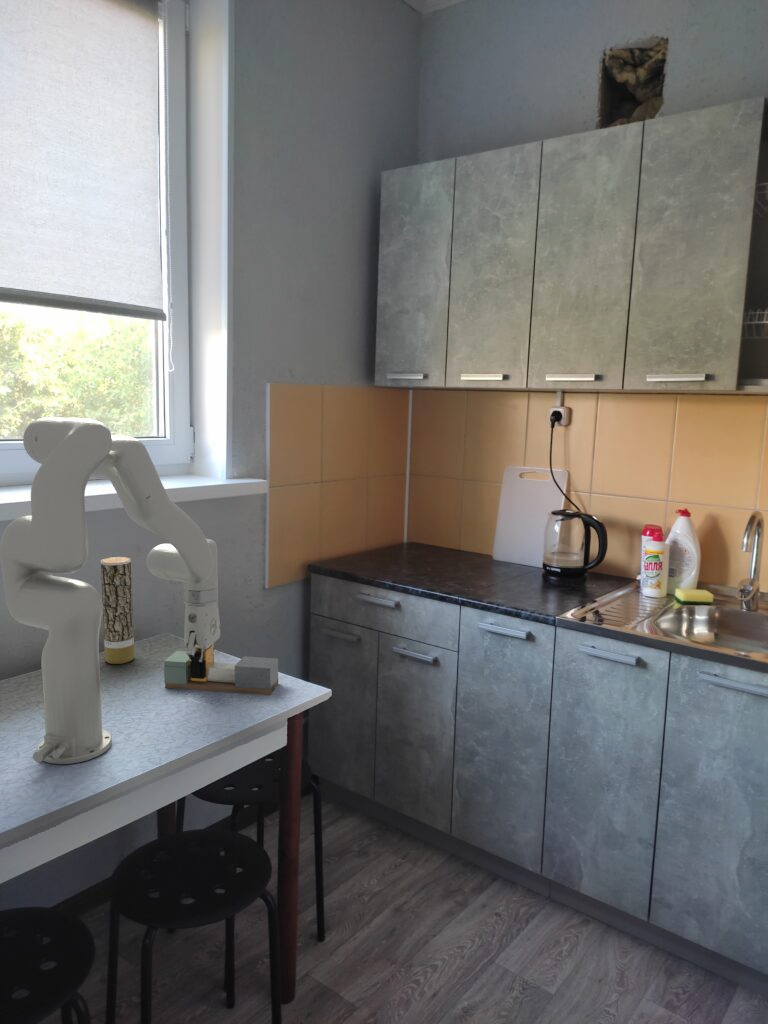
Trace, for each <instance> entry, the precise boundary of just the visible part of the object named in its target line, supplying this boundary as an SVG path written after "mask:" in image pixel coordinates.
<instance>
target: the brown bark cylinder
mask: <svg viewBox="0 0 768 1024" xmlns="http://www.w3.org/2000/svg"><path fill="white" fill-rule="evenodd" d="M100 575H101V577H100V579H101V598H102V602H103V612H102V620H103V624H102V625H103V626H102V627H103V646H104V647H103V648H104V659H105V660H104V661H105V662H106V663H108V664H112V665H121V664H126V663H130V662H131V661H133V660H134V658H135V634H134V609H133V608H134V607H133V606H134V605H133V603H134V602H133V581H132V580H133V579H132V578H133V577H132V576H133V575H132V559H131V558H130V557H124V556H116V557H107V558H103V559H101V560H100Z"/></svg>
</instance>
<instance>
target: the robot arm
mask: <svg viewBox="0 0 768 1024" xmlns="http://www.w3.org/2000/svg"><path fill="white" fill-rule="evenodd" d="M22 437H23V438H22V440H23V448H24V450H25V452H26V454H27V455H28V456H29V457H30V458H31V459H32V460H34V462H36V463H38V464H41V465H40V466H39V468H38V470H36V474H35V476H34V477H33V480H32V483H31V488H30V509H31V511H30V512H31V515H23V516H20V517H17V518H15V519H14V520H13V521H11V522H10V523H9V524H8V525H7V526H6V527H5V529H4V531H3V533H2V535H1V539H0V565H1V573H2V580H3V581H2V582H3V590H4V595H5V596H4V597H5V603H6V607H7V609H8V612H9V614H10V616H11V617H12V618H13V619H14V620H15V621H16V622H17V623H18V622H19V623H20V624H21V625H22V624H23V625H25V626H30V627H34V628H38V629H42V630H46V631H47V632H48V636H47V639H46V642H45V644H44V647H43V649H42V653H41V659H40V661H41V663H40V664H41V673H42V675H41V677H42V694H43V695H42V696H43V709H44V712H43V713H44V727H45V728H44V729H45V734H44V735H43V740H41V741H40V742H39V743H38V744H37V747H36V751H34V752H33V754H32V759H33V760H34V761H35V762H36V763H42V762H45V763H48V764H55V765H70V764H78V763H83V762H85V761H89V760H91V759H94V758H97V757H99V756H101V755H103V754H104V753H106V752H107V751H108V749H110V747H111V746H112V742H113V739H112V734H111V733H110V732H108V731H107V730H105V729H103V716H102V714H103V713H102V695H101V694H102V693H101V691H102V688H101V672H100V671H101V670H100V650H99V649H100V647H99V646H100V645H99V644H100V642H99V641H100V640H99V639H100V630H101V623H102V619H103V602H102V594H100V592H99V591H98V590H97V588H95V587H94V586H93V585H91V584H90V583H88V582H86V581H83V580H79V579H74V578H70V577H64V576H63V577H62V576H56V575H55V576H54V575H53V573H54V574H67V575H68V574H72V573H76V572H78V571H80V570H82V568H83V567H84V566H85V565H86V564H87V561H88V558H89V538H88V527H87V526H88V524H87V517H86V516H87V515H86V508H85V506H86V505H85V503H86V502H85V501H86V500H85V494H86V493H85V492H86V488H87V485H88V482H89V479H90V478H95V479H106V480H109V481H110V483H111V485H112V487H113V488H114V490H115V491H116V494H117V496H118V498H119V500H120V502H121V504H122V506H123V508H124V510H125V512H126V514H127V516H128V518H129V519H130V520H131V521H133V522H134V523H136V524H137V525H138V526H141V528H144V529H145V530H148V531H150V532H152V533H154V534H155V535H158V536H159V537H161V538H162V539H164V540H165V541H166V542H165V543H160V544H158V545H156V546H154V547H153V548H152V549H150V551H149V552H148V554H147V556H146V561H145V563H146V567H147V570H148V572H149V573H150V574H152V575H153V576H154V577H156V578H159V579H163V580H170V581H178V582H182V602H183V604H184V605H185V607H184V608H185V610H184V624H183V626H184V629H183V632H184V633H183V634H184V637H183V638H184V647H185V648H186V654H187V655H188V656H189V661H190V676H191V678H196V679H204V678H205V661H203V655H204V650H206V649H207V648H209V647H210V646H211V645H213V662H215V661H214V656H215V655H214V651H215V646H214V644H215V642H217V641H218V640H219V639H220V637H221V623H220V622H221V620H220V610H219V609H220V608H219V586H218V585H219V578H218V575H219V572H218V571H219V569H218V568H219V567H218V565H219V564H218V545H217V542H216V541H215V540H214V539H210V538H206V536H205V534H204V531H202V529H201V527H199V525H198V524H197V522H195V520H194V519H192V518H191V517H190V516H189V515H188V514H187V513H186V512H185V511H184V510H183V509H182V508H180V507H179V506H178V505H177V504H176V503H175V502H173V501H172V499H170V497H169V495H168V493H167V490H166V489H165V486H164V484H163V482H162V480H161V479H160V475H159V474H158V471H157V469H156V466H155V465H154V462H153V460H152V458H151V456H150V453H149V451H148V450H147V448H146V446H145V444H143V443H142V441H140V440H139V439H137V438H136V437H132V436H126V435H113V434H112V433H111V430H110V429H109V428H108V426H107V425H106V424H104V423H102V422H100V421H98V420H95V419H91V418H81V417H80V418H78V417H41V418H38V419H36V420H34V421H32V422H31V423H29V425H27V427H26V428H25V429H24V432H23V436H22ZM197 645H198V646H199V647H195V646H197ZM195 650H199V651H200V652H199V654H198V653H197V652H196V651H195Z"/></svg>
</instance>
